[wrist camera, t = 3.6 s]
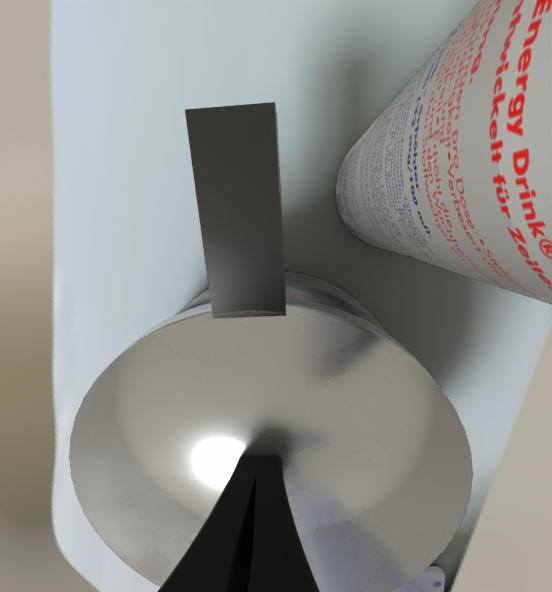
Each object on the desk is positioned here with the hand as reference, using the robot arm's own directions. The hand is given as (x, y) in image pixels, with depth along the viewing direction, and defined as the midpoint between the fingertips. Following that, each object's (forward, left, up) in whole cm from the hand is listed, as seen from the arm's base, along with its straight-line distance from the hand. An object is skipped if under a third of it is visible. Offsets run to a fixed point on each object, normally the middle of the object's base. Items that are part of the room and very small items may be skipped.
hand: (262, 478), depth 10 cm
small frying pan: (+1, 0, -1) cm, 2 cm away
